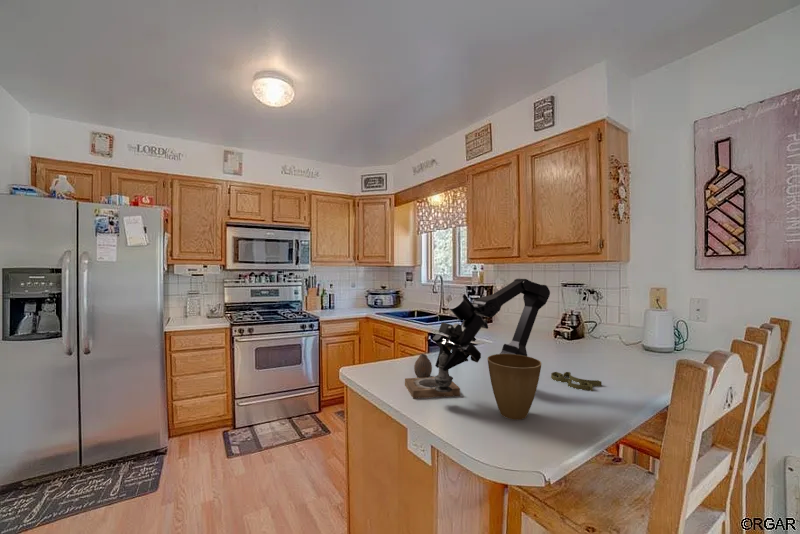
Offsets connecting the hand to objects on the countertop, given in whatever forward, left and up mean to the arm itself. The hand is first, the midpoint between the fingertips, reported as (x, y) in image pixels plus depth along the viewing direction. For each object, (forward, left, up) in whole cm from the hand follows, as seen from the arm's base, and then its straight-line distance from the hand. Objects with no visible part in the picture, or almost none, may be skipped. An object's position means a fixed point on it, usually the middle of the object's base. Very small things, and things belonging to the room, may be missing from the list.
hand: (439, 368), depth 108 cm
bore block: (-1, -13, -11) cm, 18 cm away
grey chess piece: (-1, 0, -7) cm, 7 cm away
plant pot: (-19, +10, -12) cm, 25 cm away
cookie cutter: (-57, -13, -12) cm, 60 cm away
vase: (-2, -28, -12) cm, 31 cm away
